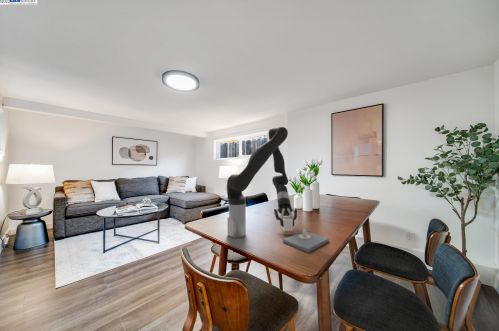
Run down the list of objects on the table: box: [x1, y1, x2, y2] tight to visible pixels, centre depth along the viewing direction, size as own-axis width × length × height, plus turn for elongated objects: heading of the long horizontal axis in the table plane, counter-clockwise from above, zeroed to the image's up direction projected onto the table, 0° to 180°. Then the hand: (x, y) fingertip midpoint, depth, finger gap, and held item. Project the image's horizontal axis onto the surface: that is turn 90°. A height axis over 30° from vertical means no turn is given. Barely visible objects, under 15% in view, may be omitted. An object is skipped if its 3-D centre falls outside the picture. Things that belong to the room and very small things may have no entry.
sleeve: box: [281, 216, 294, 235], centre depth 102 cm, size 5×5×8 cm
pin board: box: [282, 228, 330, 253], centre depth 89 cm, size 18×14×5 cm
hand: (287, 226), depth 100 cm, fingers closed on sleeve, 5 cm apart
